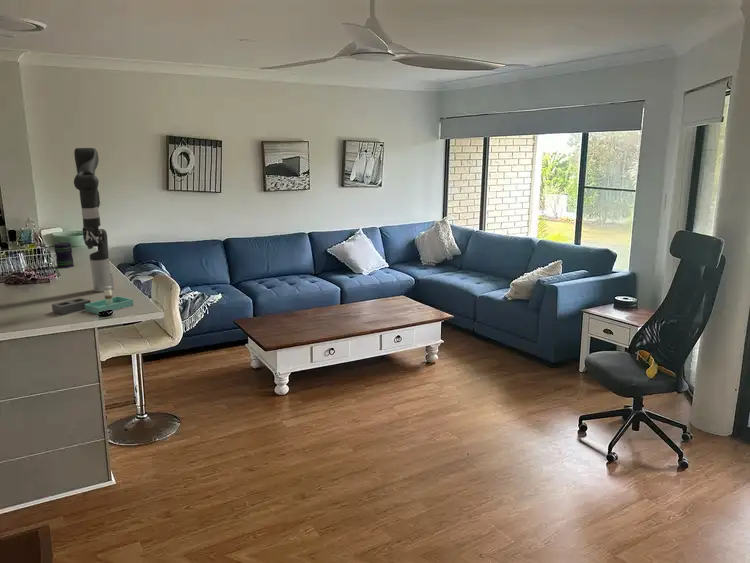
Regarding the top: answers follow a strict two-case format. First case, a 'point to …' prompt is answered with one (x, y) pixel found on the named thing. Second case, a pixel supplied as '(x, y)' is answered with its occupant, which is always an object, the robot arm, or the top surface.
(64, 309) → the block
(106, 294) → the fuse
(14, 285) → the top surface
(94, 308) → the tray
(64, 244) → the storage jar
